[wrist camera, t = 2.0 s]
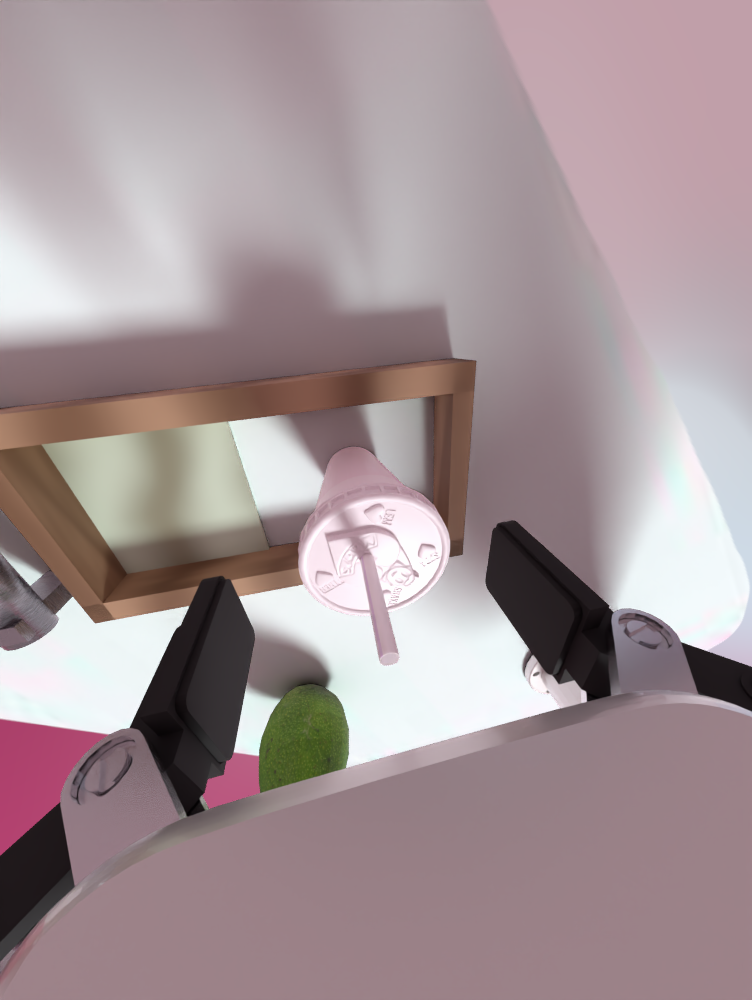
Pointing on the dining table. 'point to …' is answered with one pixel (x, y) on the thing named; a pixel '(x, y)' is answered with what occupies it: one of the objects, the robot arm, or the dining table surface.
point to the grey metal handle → (28, 606)
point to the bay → (192, 481)
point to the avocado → (303, 738)
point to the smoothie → (371, 544)
